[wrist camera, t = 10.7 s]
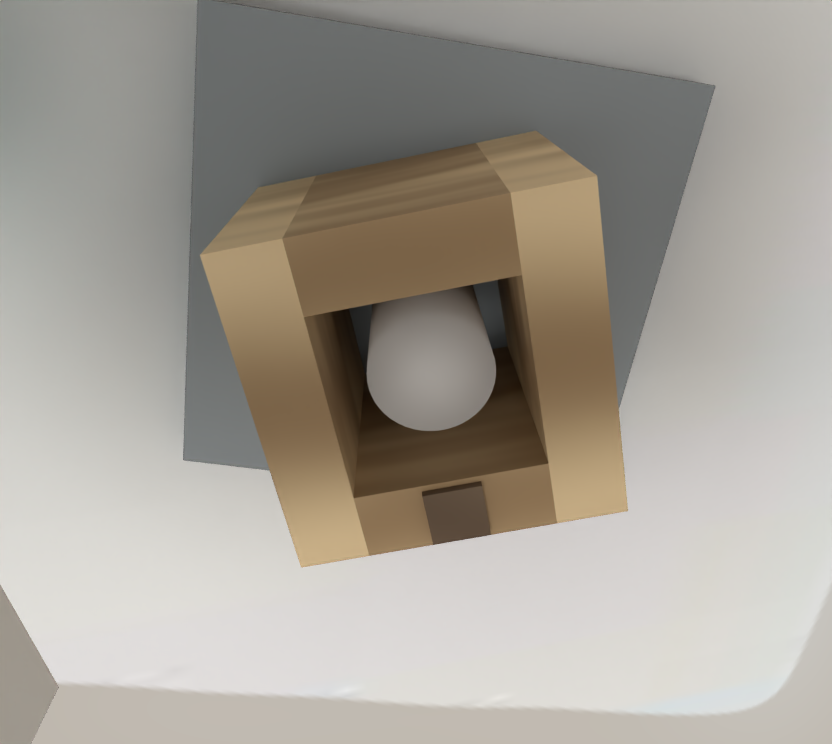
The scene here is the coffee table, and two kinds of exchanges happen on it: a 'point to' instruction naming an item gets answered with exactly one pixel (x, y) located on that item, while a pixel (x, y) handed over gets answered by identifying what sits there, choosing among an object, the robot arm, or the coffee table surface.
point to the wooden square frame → (409, 276)
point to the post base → (403, 137)
